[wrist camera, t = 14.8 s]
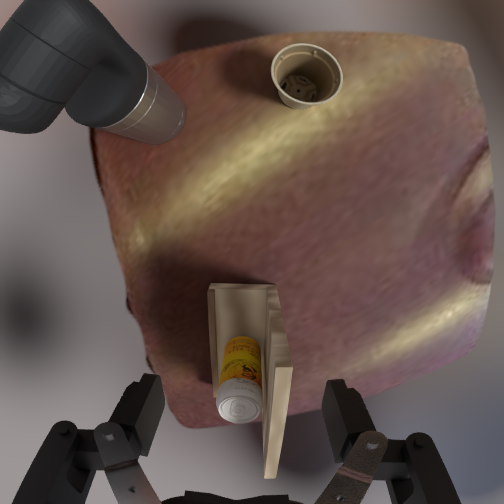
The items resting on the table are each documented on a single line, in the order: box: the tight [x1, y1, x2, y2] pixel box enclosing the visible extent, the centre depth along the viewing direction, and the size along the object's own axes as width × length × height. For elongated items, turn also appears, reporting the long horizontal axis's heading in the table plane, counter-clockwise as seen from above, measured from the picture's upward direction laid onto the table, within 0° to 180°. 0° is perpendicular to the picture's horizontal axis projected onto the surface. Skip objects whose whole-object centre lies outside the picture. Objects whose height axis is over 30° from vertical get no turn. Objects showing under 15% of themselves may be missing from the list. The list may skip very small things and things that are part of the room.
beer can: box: [216, 336, 263, 423], centre depth 39 cm, size 6×6×15 cm
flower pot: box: [271, 43, 343, 110], centre depth 34 cm, size 9×9×9 cm
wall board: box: [207, 283, 293, 479], centre depth 38 cm, size 11×22×22 cm, turn 179°
